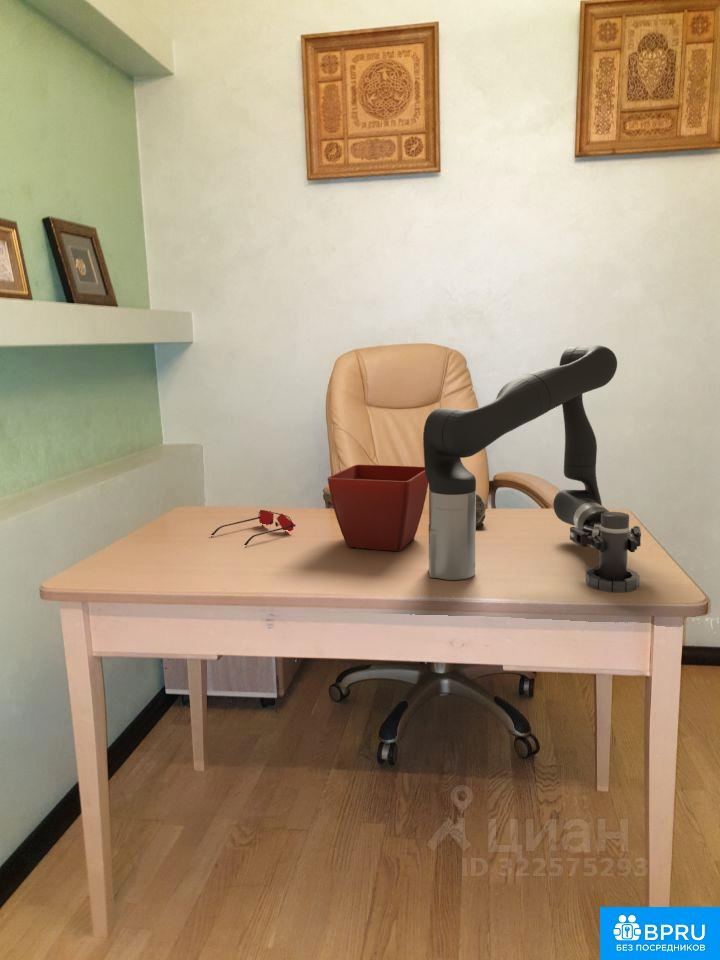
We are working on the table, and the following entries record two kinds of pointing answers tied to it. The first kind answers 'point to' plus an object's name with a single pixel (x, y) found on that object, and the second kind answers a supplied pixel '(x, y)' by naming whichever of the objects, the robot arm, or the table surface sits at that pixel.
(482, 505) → the fossil
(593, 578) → the block ring
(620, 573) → the dark grey canister
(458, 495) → the robot arm
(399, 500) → the plant pot
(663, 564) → the table surface
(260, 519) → the glasses
